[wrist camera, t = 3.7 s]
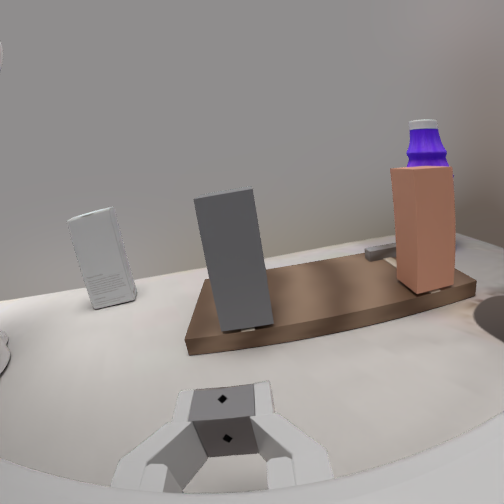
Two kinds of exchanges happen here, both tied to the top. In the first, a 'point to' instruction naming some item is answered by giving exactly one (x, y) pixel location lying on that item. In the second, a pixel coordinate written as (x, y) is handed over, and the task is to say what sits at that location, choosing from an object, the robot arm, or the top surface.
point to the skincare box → (102, 257)
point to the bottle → (425, 145)
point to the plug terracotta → (424, 226)
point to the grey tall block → (234, 258)
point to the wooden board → (324, 301)
